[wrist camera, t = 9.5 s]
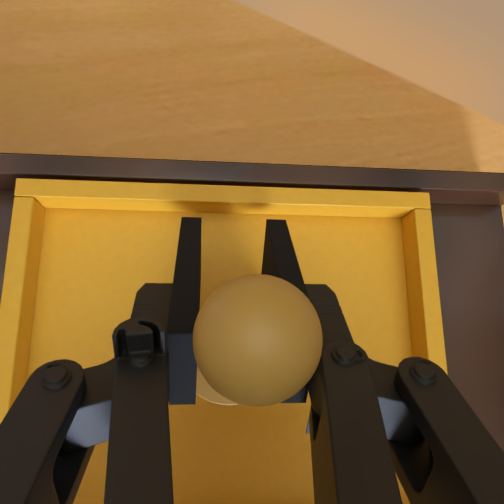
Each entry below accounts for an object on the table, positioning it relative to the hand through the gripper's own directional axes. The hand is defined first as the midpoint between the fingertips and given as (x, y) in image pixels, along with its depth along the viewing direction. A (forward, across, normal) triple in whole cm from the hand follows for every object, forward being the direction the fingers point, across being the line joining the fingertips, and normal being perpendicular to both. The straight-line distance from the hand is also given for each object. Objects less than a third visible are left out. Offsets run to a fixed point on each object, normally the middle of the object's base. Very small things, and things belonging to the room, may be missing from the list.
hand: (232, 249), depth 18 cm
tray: (0, 0, -5) cm, 5 cm away
